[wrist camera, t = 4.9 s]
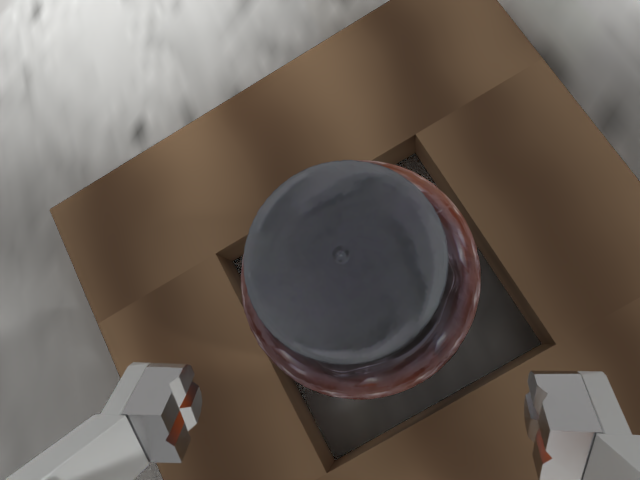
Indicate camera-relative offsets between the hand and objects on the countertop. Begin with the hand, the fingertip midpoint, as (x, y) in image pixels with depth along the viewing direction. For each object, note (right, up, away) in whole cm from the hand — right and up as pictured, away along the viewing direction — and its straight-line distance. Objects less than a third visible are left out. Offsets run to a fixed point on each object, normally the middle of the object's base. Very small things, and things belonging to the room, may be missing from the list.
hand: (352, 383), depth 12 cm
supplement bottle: (+1, +1, +8) cm, 9 cm away
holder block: (+1, +1, +8) cm, 8 cm away
